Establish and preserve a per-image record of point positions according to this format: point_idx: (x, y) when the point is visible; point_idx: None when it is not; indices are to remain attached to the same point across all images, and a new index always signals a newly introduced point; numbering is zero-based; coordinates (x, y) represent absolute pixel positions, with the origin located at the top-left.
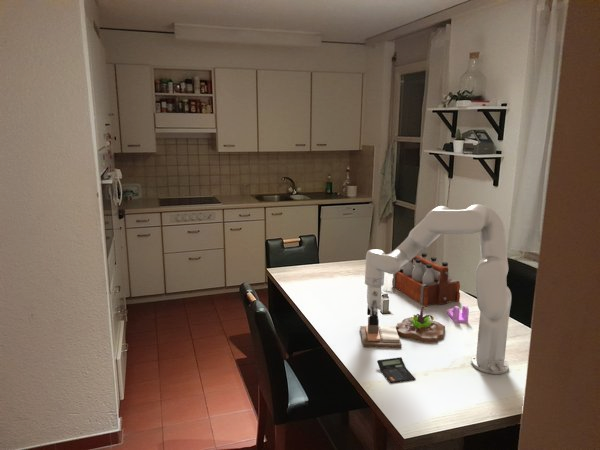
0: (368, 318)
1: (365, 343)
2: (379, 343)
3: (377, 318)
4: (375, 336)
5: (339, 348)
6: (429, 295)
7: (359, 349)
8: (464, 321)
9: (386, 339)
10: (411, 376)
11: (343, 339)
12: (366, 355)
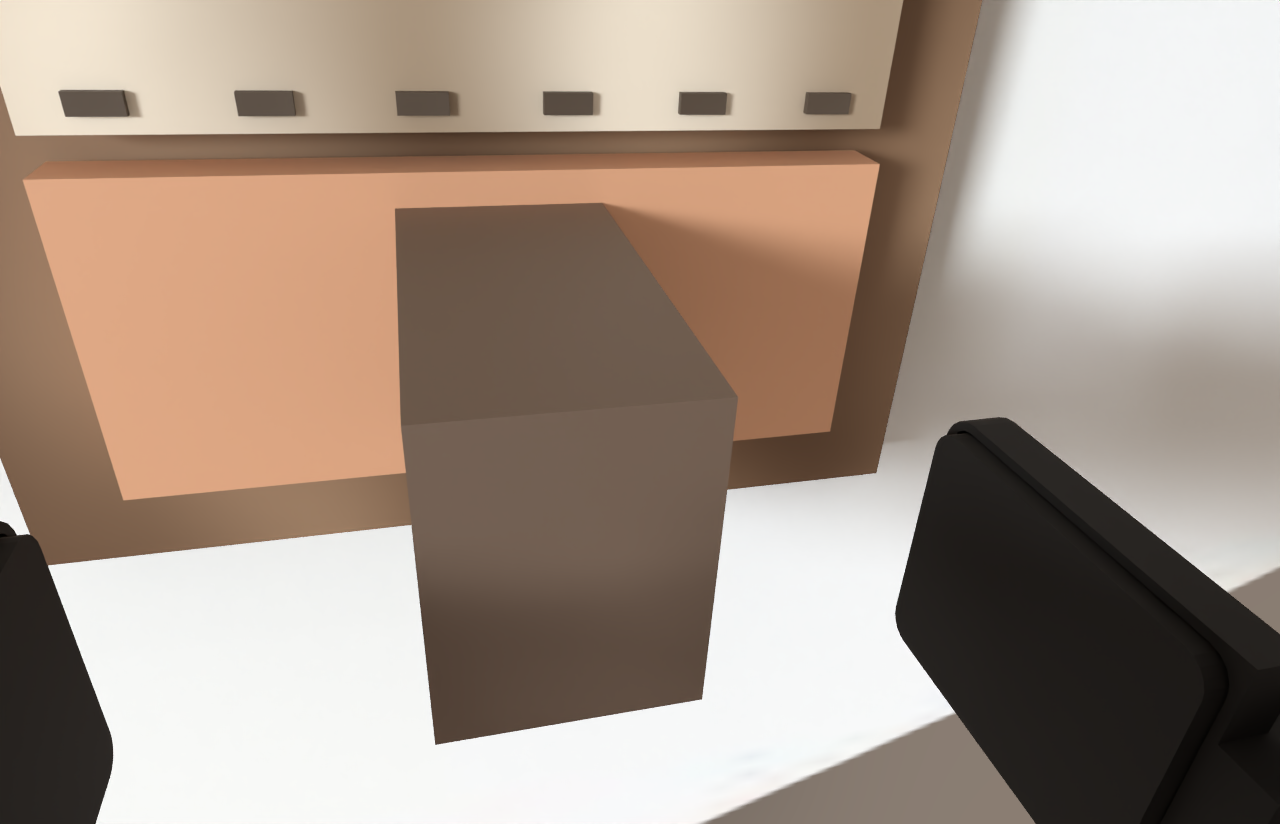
0: (582, 718)
1: (880, 440)
2: (927, 180)
3: (1197, 585)
4: (750, 279)
5: (842, 705)
6: None
7: (910, 484)
8: None
9: (901, 3)
10: None
11: None
12: (1100, 386)
